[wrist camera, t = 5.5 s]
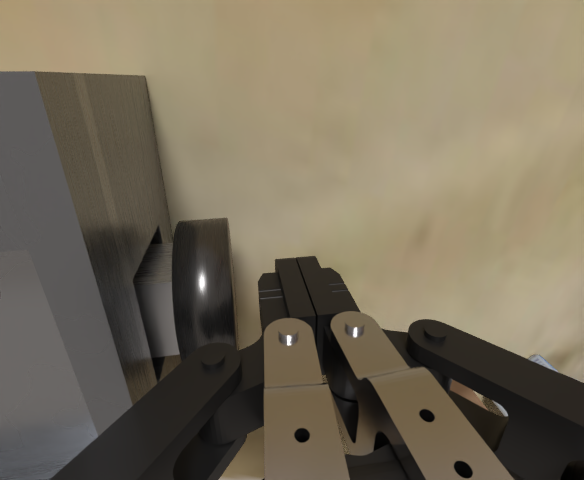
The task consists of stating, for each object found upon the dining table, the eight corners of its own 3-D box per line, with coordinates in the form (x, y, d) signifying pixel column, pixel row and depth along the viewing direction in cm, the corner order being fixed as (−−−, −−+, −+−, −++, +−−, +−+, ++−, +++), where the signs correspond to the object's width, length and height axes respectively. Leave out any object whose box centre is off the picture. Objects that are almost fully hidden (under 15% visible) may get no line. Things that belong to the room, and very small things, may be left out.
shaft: (226, 198, 14) (226, 260, 9) (236, 306, 16) (240, 401, 11) (-184, 223, 12) (-462, 319, 7) (-107, 343, 14) (-277, 477, 9)
